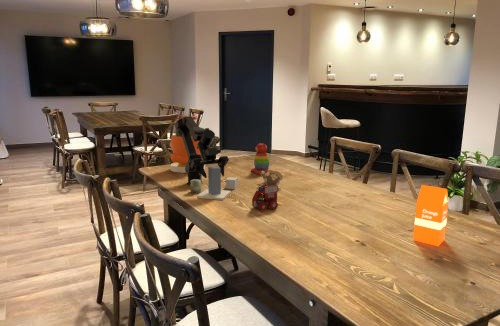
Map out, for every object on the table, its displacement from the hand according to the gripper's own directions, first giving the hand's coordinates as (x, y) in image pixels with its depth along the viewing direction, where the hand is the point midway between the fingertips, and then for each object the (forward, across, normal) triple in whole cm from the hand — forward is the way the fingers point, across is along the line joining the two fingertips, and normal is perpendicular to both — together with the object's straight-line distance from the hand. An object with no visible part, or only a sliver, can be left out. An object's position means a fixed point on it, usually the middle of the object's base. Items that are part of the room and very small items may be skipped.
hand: (214, 176), depth 202 cm
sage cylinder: (-1, -6, +14) cm, 15 cm away
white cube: (0, +14, +13) cm, 19 cm away
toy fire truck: (+27, +11, -13) cm, 32 cm away
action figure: (+4, +34, +10) cm, 35 cm away
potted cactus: (-34, +10, +48) cm, 60 cm away
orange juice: (+69, +44, -56) cm, 99 cm away
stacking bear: (-16, +46, +30) cm, 57 cm away
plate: (+6, 0, +7) cm, 9 cm away
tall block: (+6, 0, +6) cm, 8 cm away
